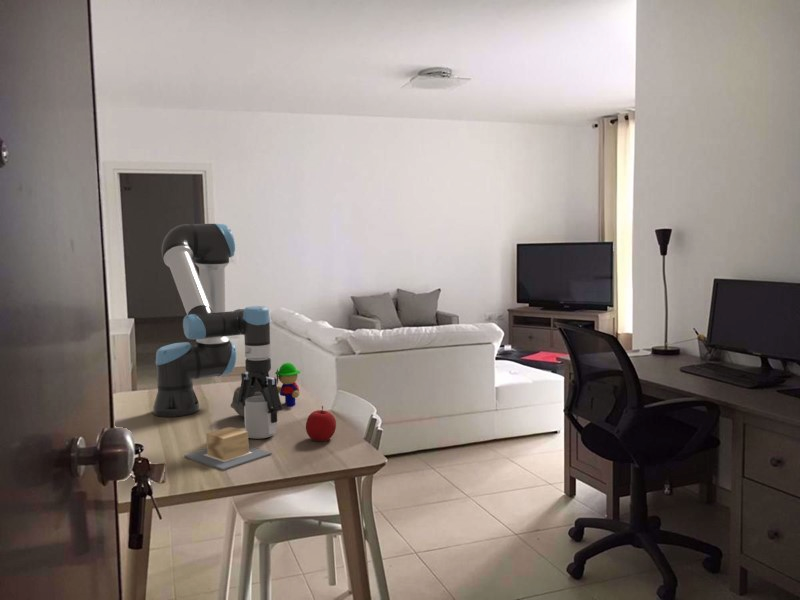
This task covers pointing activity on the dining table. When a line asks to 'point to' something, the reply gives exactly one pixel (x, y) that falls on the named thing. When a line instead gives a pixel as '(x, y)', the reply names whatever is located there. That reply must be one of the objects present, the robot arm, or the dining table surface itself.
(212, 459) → the grey rectangular mat
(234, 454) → the oak block
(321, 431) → the apple
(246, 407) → the mug
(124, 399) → the dining table surface
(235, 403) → the bowl
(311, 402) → the dining table surface
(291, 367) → the toy
